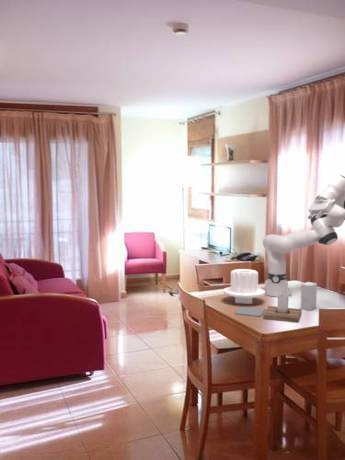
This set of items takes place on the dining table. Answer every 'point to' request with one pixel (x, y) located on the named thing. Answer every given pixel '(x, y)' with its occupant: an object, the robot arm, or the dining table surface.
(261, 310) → the slate mat
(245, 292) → the ribbed cylinder on disc
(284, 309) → the steel plug
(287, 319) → the walnut socket block
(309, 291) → the skincare box
